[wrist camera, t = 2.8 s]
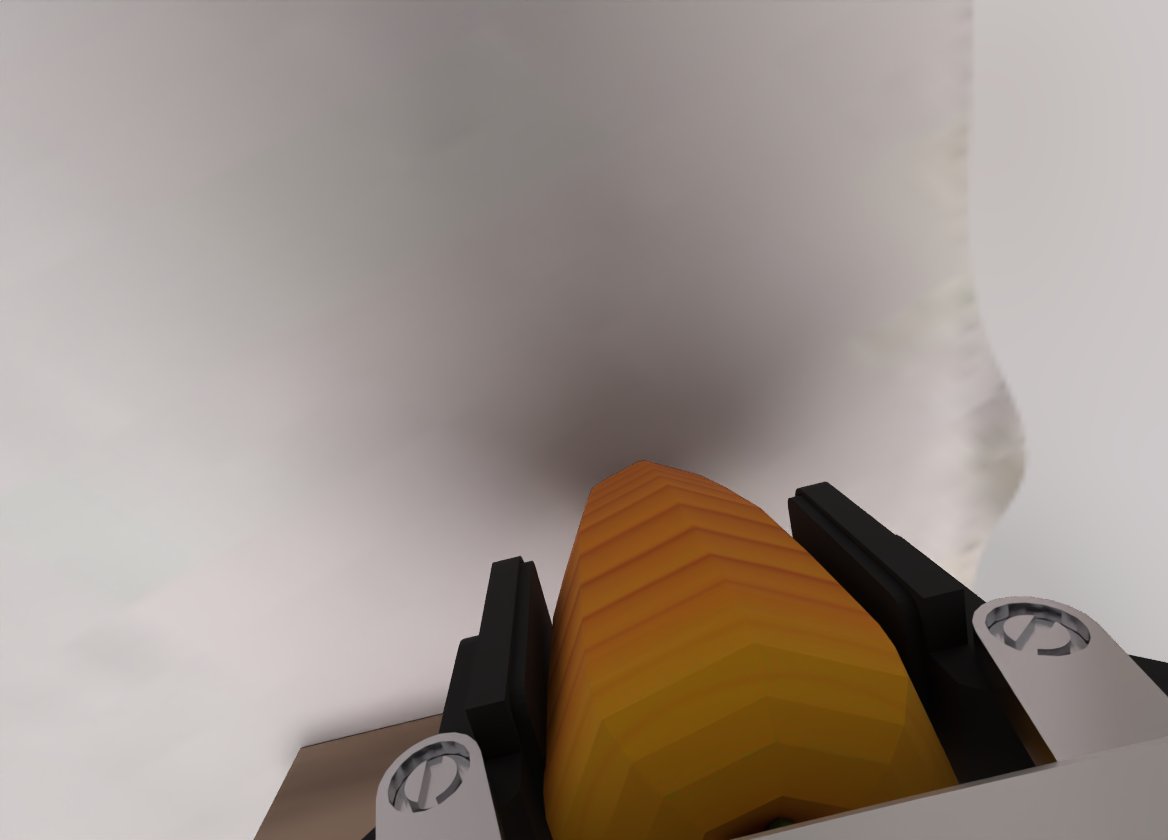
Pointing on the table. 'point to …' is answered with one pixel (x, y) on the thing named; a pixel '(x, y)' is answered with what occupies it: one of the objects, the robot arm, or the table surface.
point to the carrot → (716, 676)
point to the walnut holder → (339, 784)
